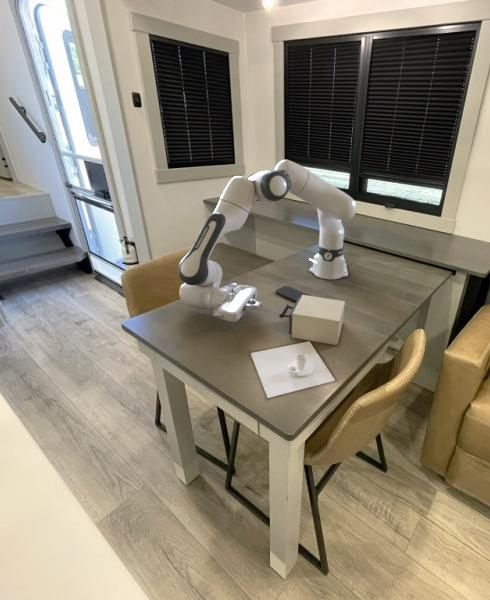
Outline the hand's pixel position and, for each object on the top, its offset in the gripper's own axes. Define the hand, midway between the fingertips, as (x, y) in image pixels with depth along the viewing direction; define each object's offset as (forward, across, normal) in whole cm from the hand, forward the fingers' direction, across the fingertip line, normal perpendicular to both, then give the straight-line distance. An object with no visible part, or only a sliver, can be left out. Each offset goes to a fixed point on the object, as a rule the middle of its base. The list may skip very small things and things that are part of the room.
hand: (260, 306), depth 116 cm
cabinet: (+21, 0, +6) cm, 22 cm away
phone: (+6, +22, +6) cm, 24 cm away
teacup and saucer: (+17, -21, +6) cm, 28 cm away
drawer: (+17, 0, +5) cm, 18 cm away
